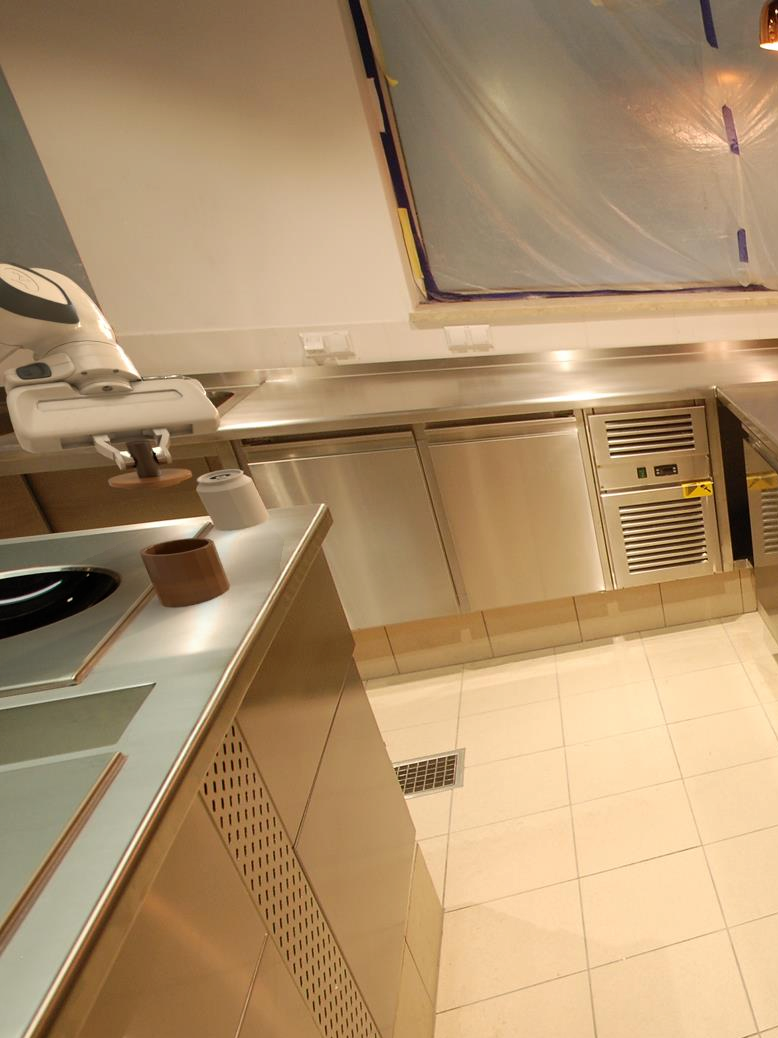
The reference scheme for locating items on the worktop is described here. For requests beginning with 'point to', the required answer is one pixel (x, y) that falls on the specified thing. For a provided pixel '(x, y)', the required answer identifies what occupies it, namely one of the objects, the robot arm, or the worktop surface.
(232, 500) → the can
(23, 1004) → the worktop surface
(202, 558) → the wooden cylinder
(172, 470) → the basket lid
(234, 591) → the worktop surface
